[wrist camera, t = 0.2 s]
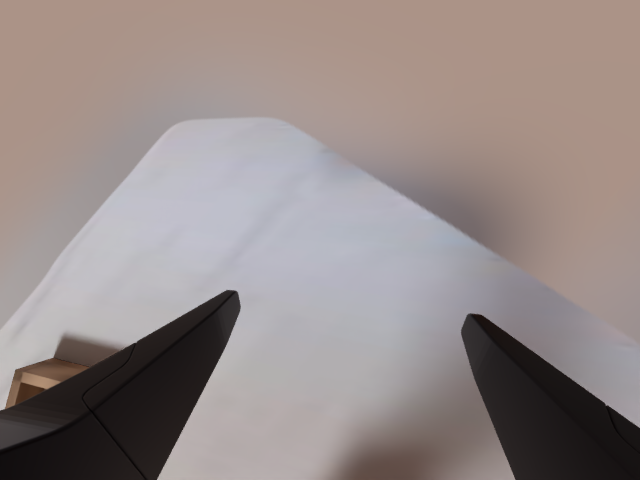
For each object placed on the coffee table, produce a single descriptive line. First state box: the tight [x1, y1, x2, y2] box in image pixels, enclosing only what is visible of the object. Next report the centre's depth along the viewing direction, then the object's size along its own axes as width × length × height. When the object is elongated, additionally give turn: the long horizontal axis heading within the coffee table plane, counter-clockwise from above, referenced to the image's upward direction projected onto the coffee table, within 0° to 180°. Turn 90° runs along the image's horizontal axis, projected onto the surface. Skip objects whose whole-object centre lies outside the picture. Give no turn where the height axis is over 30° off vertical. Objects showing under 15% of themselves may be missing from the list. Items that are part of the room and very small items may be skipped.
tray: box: [5, 358, 90, 409], centre depth 23 cm, size 14×14×3 cm
